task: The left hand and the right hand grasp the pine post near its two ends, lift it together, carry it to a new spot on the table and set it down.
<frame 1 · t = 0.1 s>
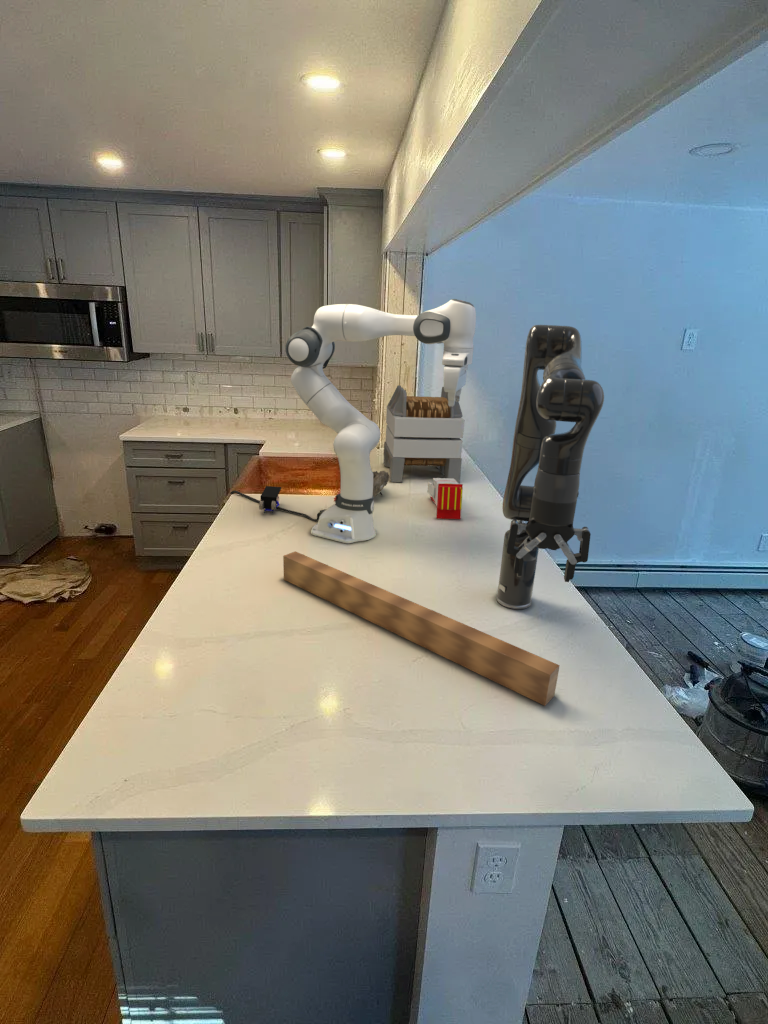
left hand: (453, 403, 174), 48 cm above the counter, tool pointing down, fingers open, 8 cm apart
right hand: (542, 577, 105), 29 cm above the counter, tool pointing down, fingers open, 8 cm apart
toy: (443, 507, 229), on the counter
figurine character: (270, 509, 217), on the counter
transformer: (419, 473, 275), on the counter
fossil: (373, 495, 240), on the counter
post: (397, 628, 141), on the counter
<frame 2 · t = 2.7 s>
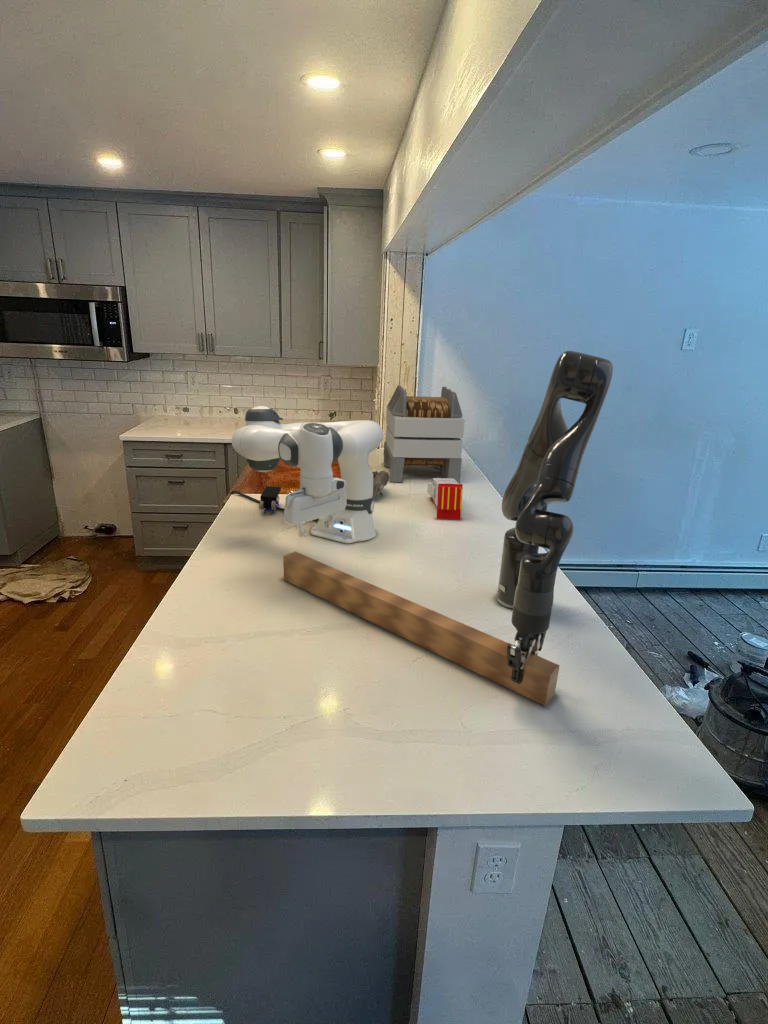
left hand: (316, 532, 158), 15 cm above the counter, tool pointing down, fingers open, 8 cm apart
right hand: (522, 675, 120), 3 cm above the counter, tool pointing down, fingers closed on post, 4 cm apart
post: (397, 628, 141), on the counter, touching right hand
everything else where it was.
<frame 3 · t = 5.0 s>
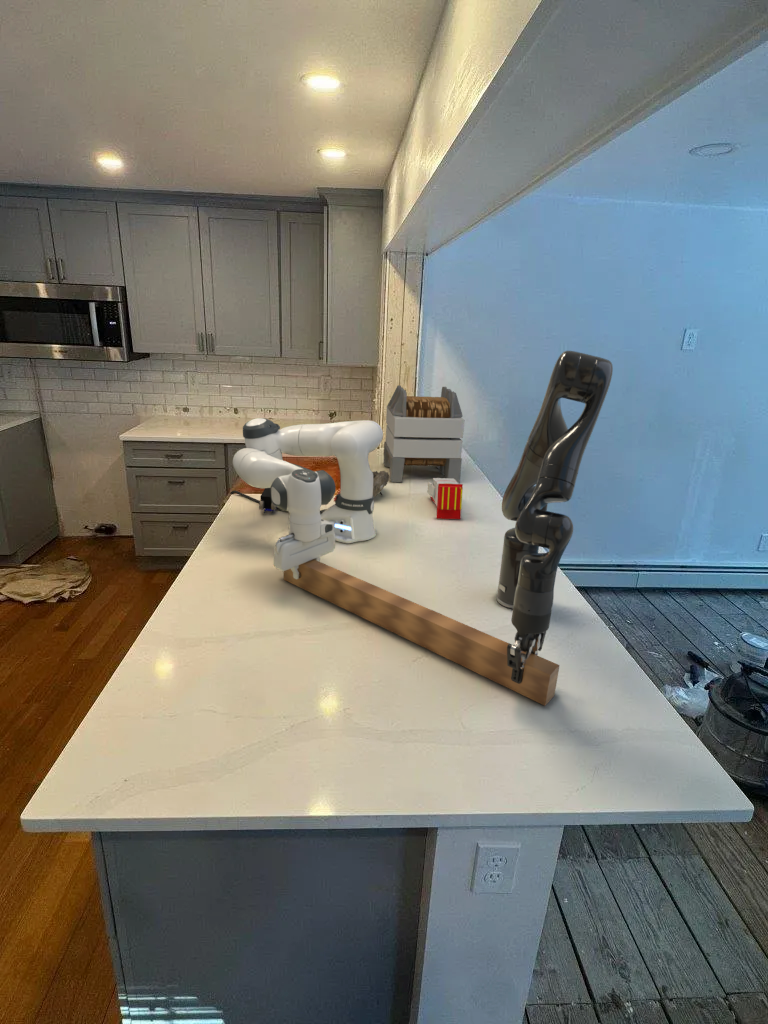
left hand: (305, 574, 160), 3 cm above the counter, tool pointing down, fingers closed on post, 4 cm apart
right hand: (522, 675, 120), 3 cm above the counter, tool pointing down, fingers closed on post, 4 cm apart
post: (397, 628, 141), on the counter, touching left hand, right hand
everything else where it was.
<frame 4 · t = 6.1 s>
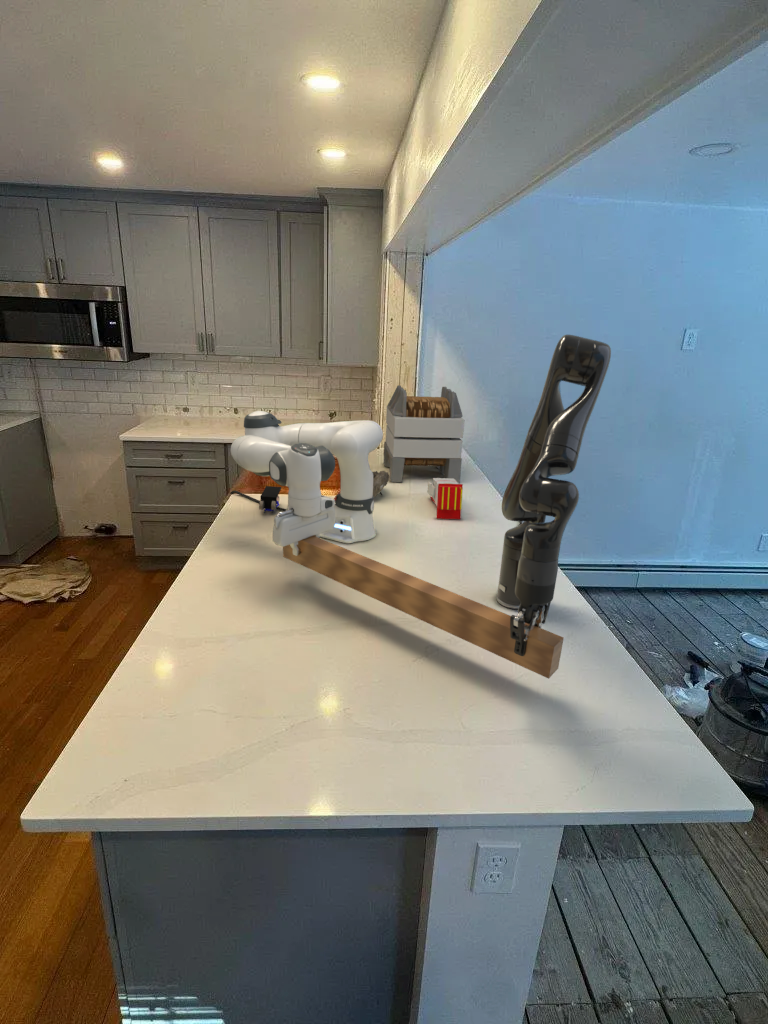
left hand: (304, 551, 158), 10 cm above the counter, tool pointing down, fingers closed on post, 4 cm apart
right hand: (525, 648, 118), 9 cm above the counter, tool pointing down, fingers closed on post, 4 cm apart
post: (398, 603, 139), point 7 cm above the counter, touching left hand, right hand
everything else where it was.
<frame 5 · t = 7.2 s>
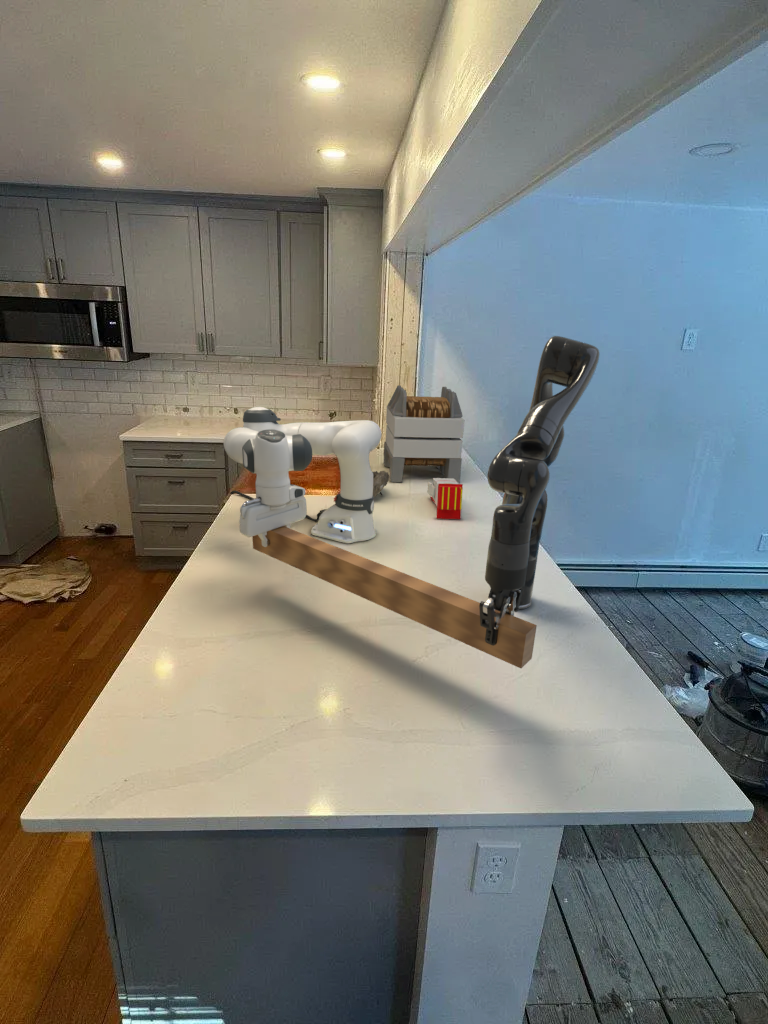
left hand: (274, 542, 152), 14 cm above the counter, tool pointing down, fingers closed on post, 4 cm apart
right hand: (497, 637, 112), 14 cm above the counter, tool pointing down, fingers closed on post, 4 cm apart
post: (369, 594, 133), point 11 cm above the counter, touching left hand, right hand
everything else where it was.
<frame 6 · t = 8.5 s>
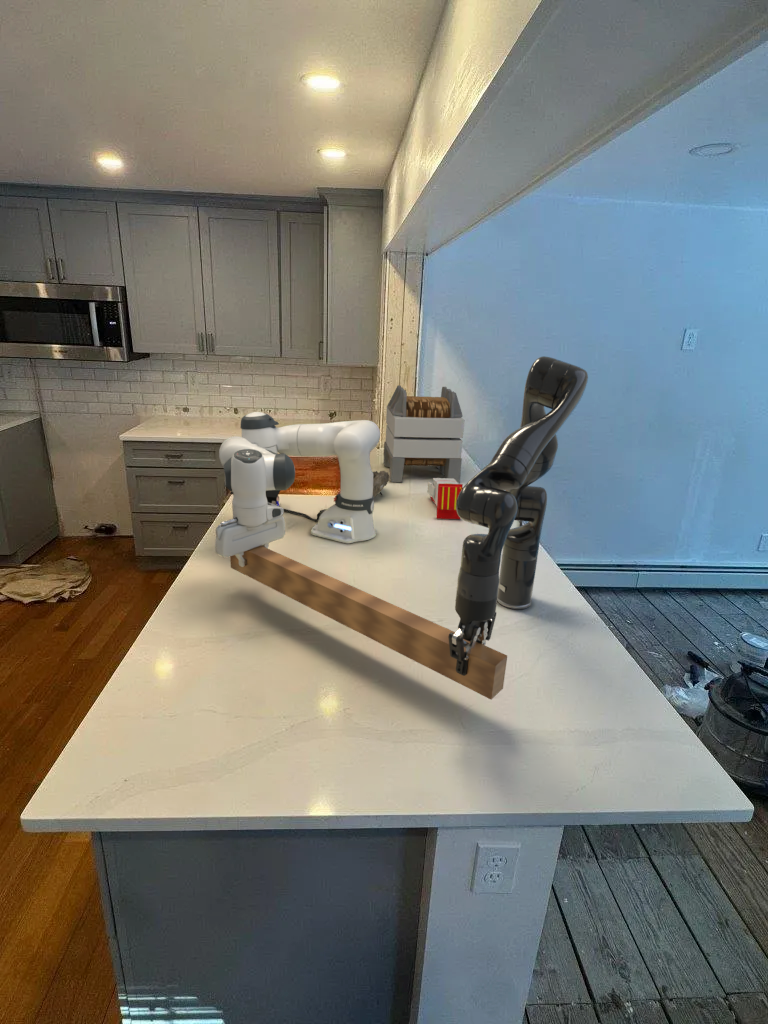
left hand: (252, 562, 151), 10 cm above the counter, tool pointing down, fingers closed on post, 4 cm apart
right hand: (468, 667, 111), 9 cm above the counter, tool pointing down, fingers closed on post, 4 cm apart
post: (343, 617, 132), point 7 cm above the counter, touching left hand, right hand
everything else where it was.
when the left hand's fingers open (4 cm above the counter, at t = 9.6 s): post drops 1 cm, on the counter.
when the right hand's fingers open (4 cm above the counter, at t = 9.6 s): post drops 1 cm, on the counter.
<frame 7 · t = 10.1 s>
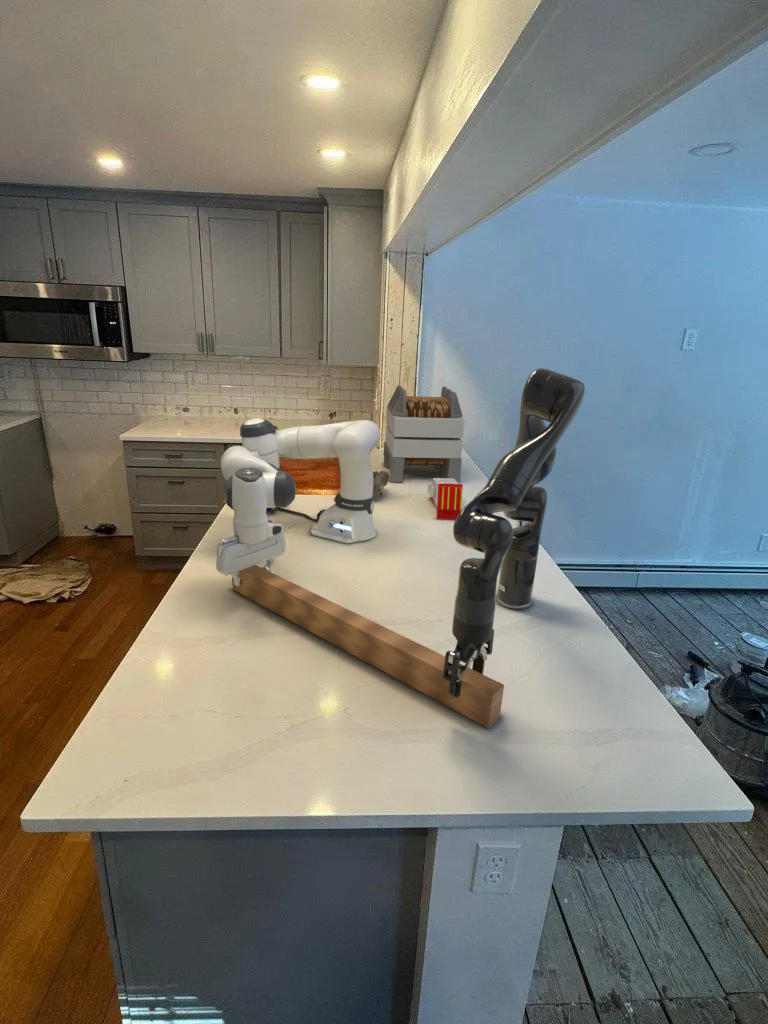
left hand: (253, 578, 152), 5 cm above the counter, tool pointing down, fingers open, 8 cm apart
right hand: (466, 685, 112), 5 cm above the counter, tool pointing down, fingers open, 8 cm apart
post: (344, 642, 134), on the counter
everything else where it was.
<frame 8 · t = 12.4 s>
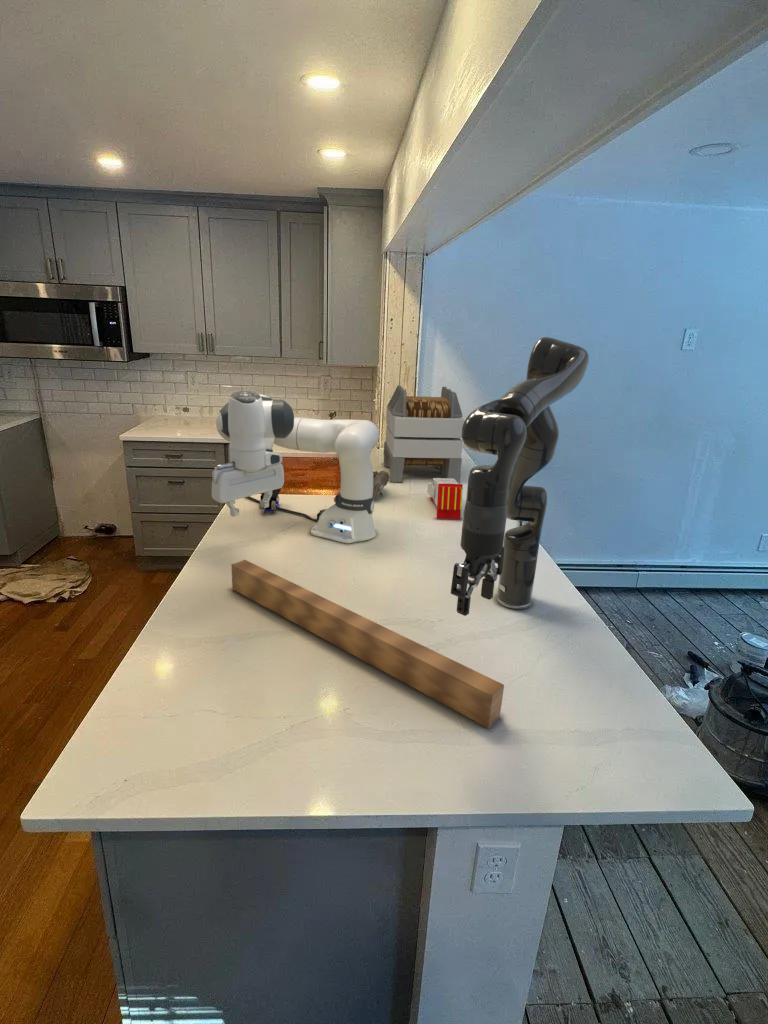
left hand: (250, 511, 146), 24 cm above the counter, tool pointing down, fingers open, 8 cm apart
right hand: (474, 605, 106), 23 cm above the counter, tool pointing down, fingers open, 8 cm apart
nothing on the counter moved.
at the end: post inside the target area (0.3 cm from its centre), on the counter; post tilted 0°; post never tilted more than 1° during the clip; both hands held the post at the same time; the left hand is holding nothing; the right hand is holding nothing; post at rest at the end (0.0 cm/s) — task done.
